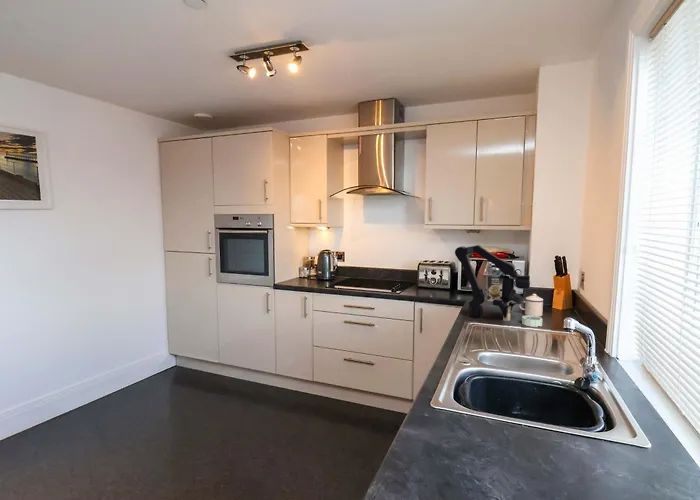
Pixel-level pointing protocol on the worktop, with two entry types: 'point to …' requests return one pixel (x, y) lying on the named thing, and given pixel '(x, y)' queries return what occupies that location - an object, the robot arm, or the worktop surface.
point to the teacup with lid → (533, 306)
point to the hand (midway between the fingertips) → (506, 316)
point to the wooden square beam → (507, 315)
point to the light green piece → (532, 321)
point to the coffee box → (493, 287)
